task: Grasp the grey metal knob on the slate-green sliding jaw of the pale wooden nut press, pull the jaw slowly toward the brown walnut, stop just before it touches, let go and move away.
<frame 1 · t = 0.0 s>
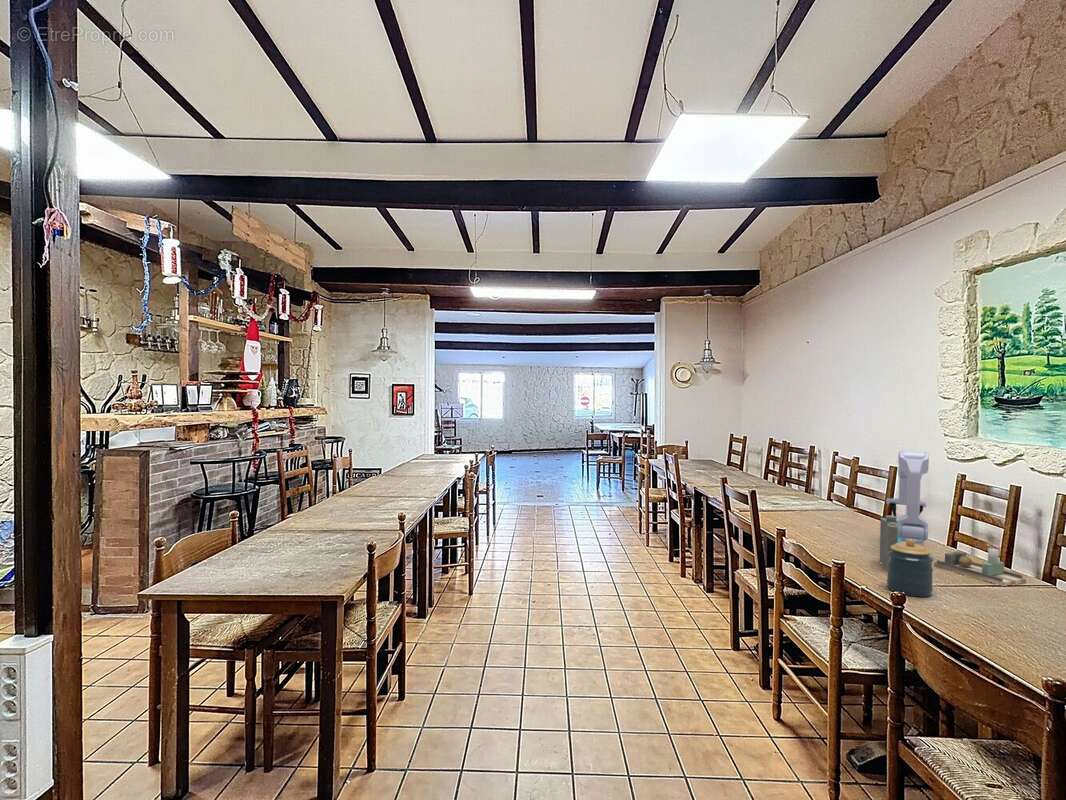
hand: (905, 520, 250), 11 cm above the table, tool pointing down, fingers open, 7 cm apart
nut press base: (977, 574, 209), on the table
hip flask: (889, 568, 216), on the table
donuts: (894, 544, 250), on the table
sliding jaw: (993, 561, 205), point 6 cm above the table, slide at 0.0 cm
walnut: (965, 561, 214), point 3 cm above the table, touching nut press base
canister: (909, 591, 191), on the table
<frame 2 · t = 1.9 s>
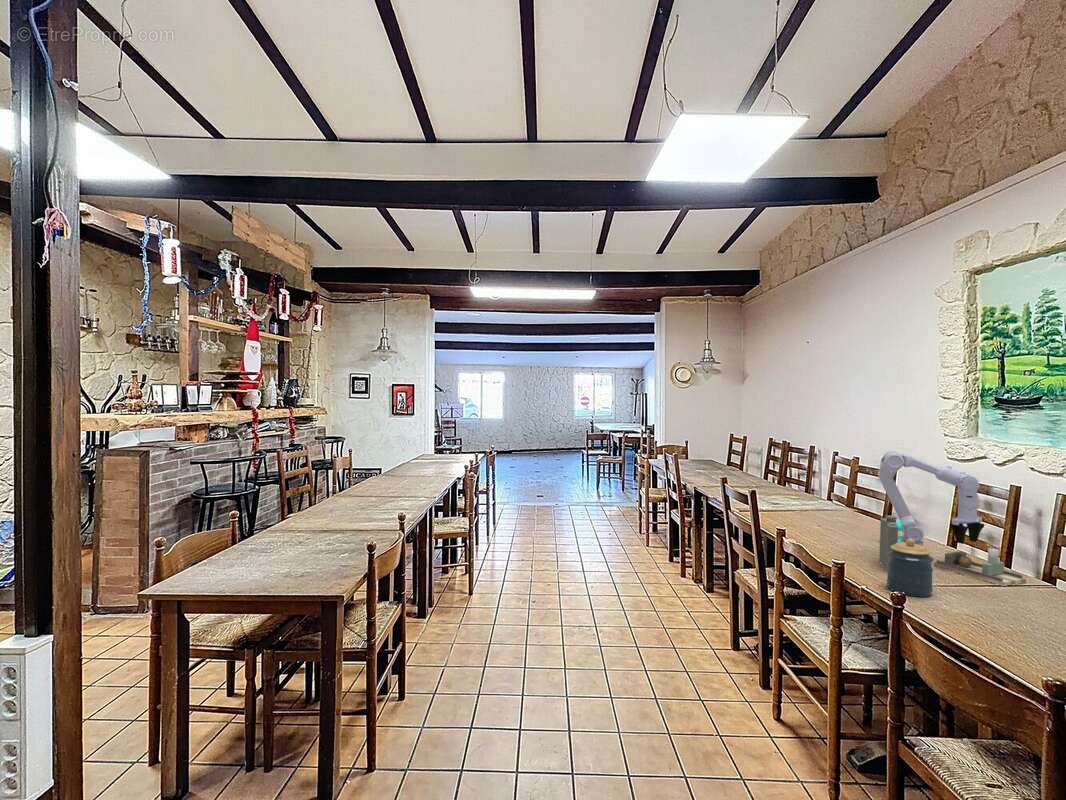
hand: (966, 542, 215), 10 cm above the table, tool pointing down, fingers open, 7 cm apart
nothing on the table moved.
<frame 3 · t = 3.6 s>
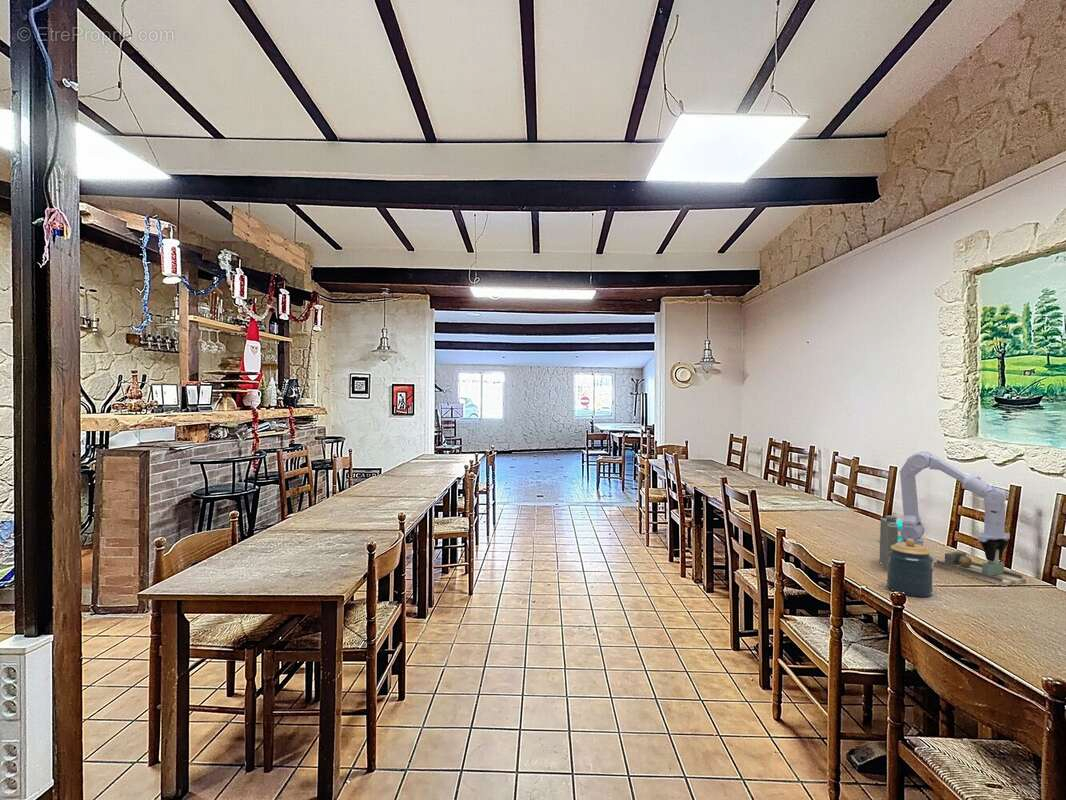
hand: (993, 559, 205), 7 cm above the table, tool pointing down, fingers closed on sliding jaw, 3 cm apart
sliding jaw: (993, 561, 205), point 6 cm above the table, slide at 0.0 cm, touching gripper
everything else where it was.
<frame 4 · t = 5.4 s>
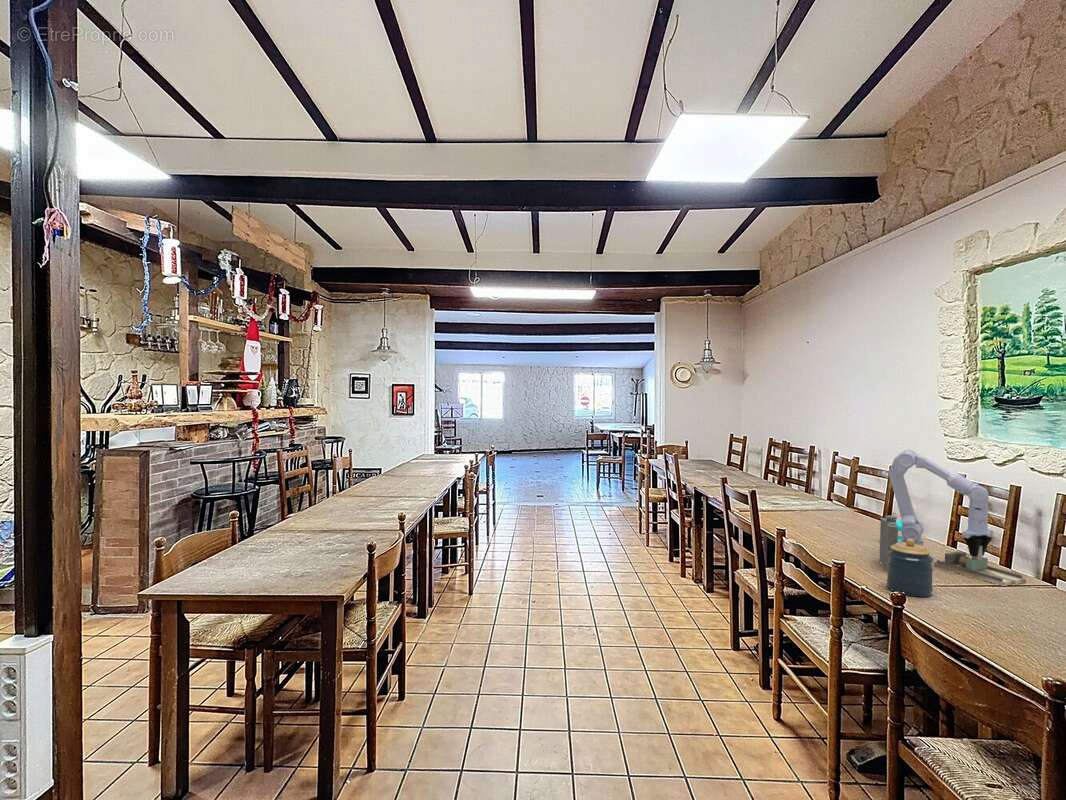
hand: (976, 555, 210), 7 cm above the table, tool pointing down, fingers closed on sliding jaw, 3 cm apart
sliding jaw: (977, 557, 210), point 6 cm above the table, slide at 5.4 cm, touching gripper
everything else where it was.
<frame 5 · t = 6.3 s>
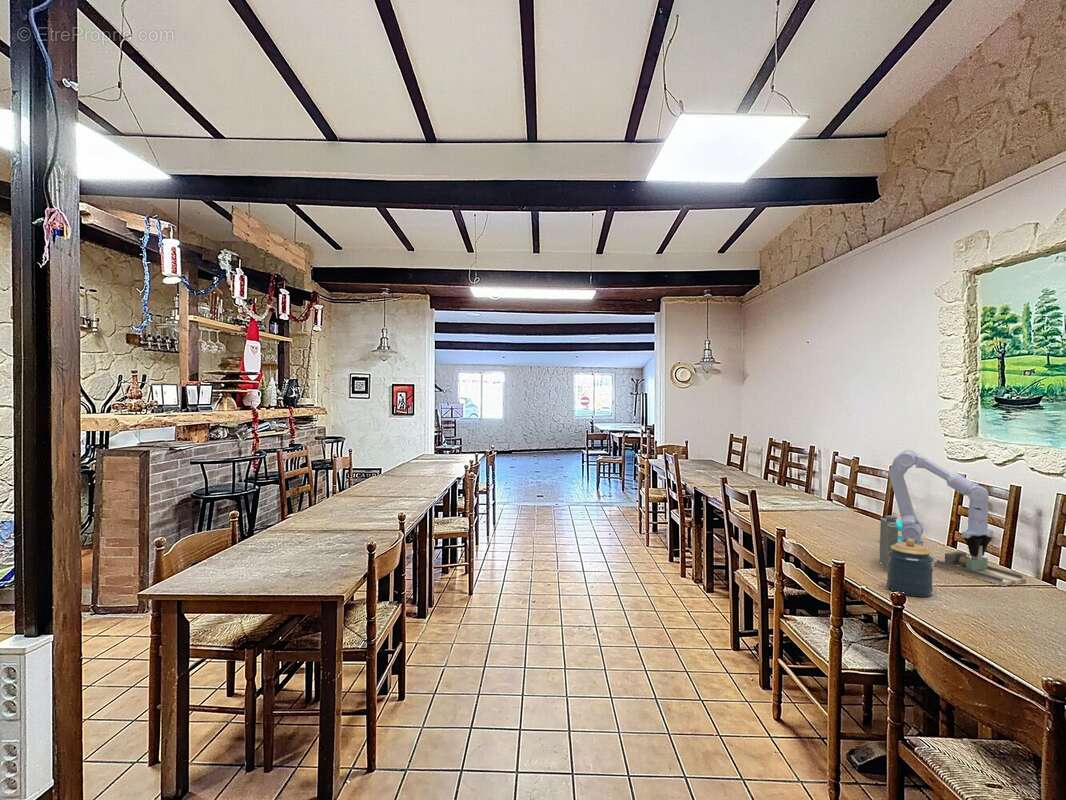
hand: (976, 555, 210), 7 cm above the table, tool pointing down, fingers closed on sliding jaw, 3 cm apart
sliding jaw: (977, 557, 210), point 6 cm above the table, slide at 5.4 cm, touching gripper
everything else where it was.
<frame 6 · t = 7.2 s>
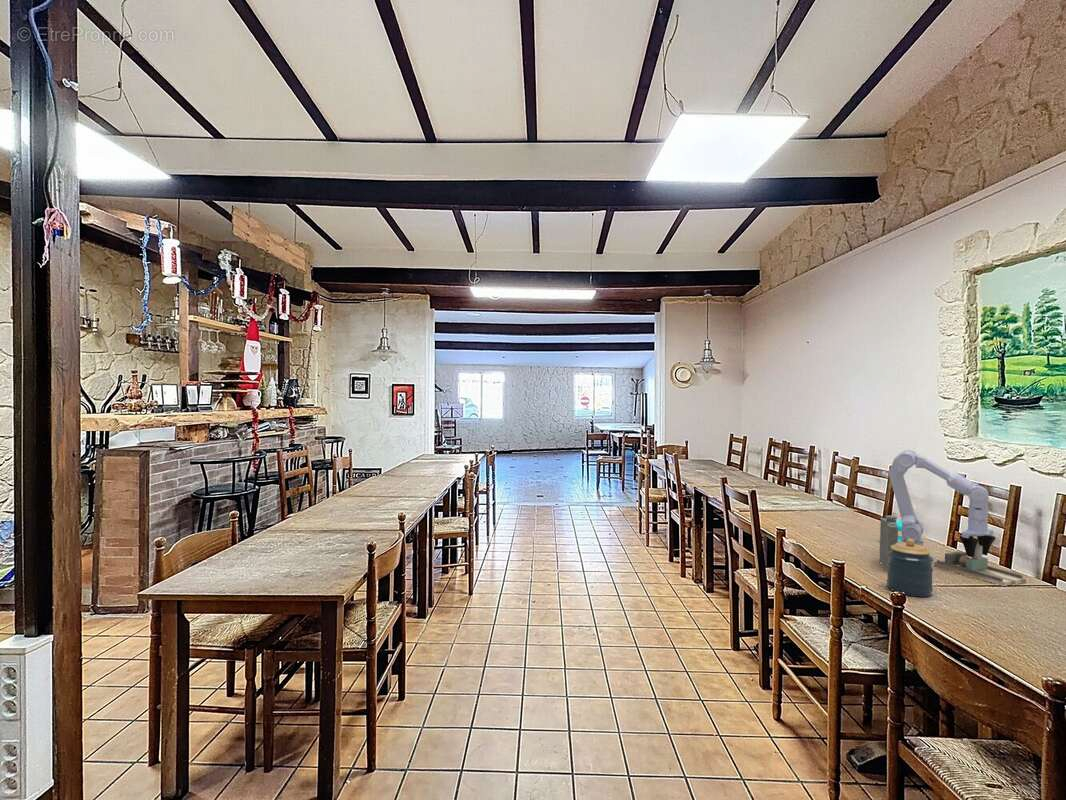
hand: (976, 555, 210), 7 cm above the table, tool pointing down, fingers open, 7 cm apart
sliding jaw: (977, 557, 210), point 6 cm above the table, slide at 5.4 cm
everything else where it was.
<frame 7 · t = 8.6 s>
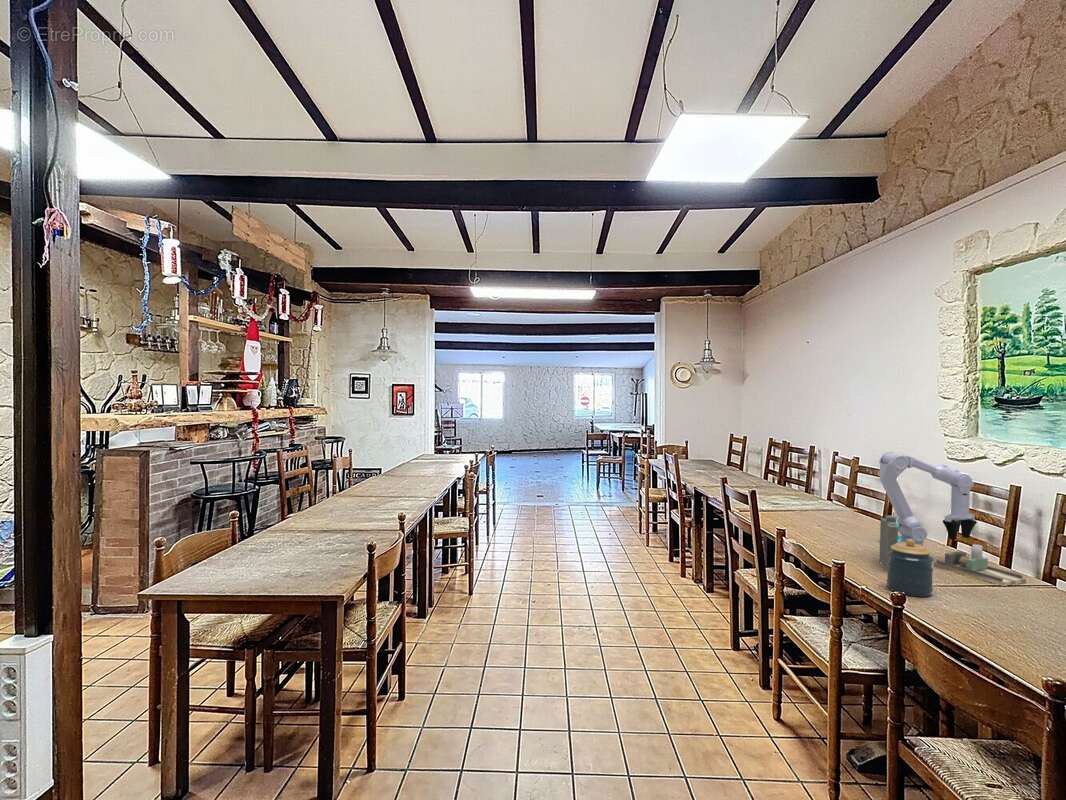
hand: (959, 538, 220), 10 cm above the table, tool pointing down, fingers open, 7 cm apart
nothing on the table moved.
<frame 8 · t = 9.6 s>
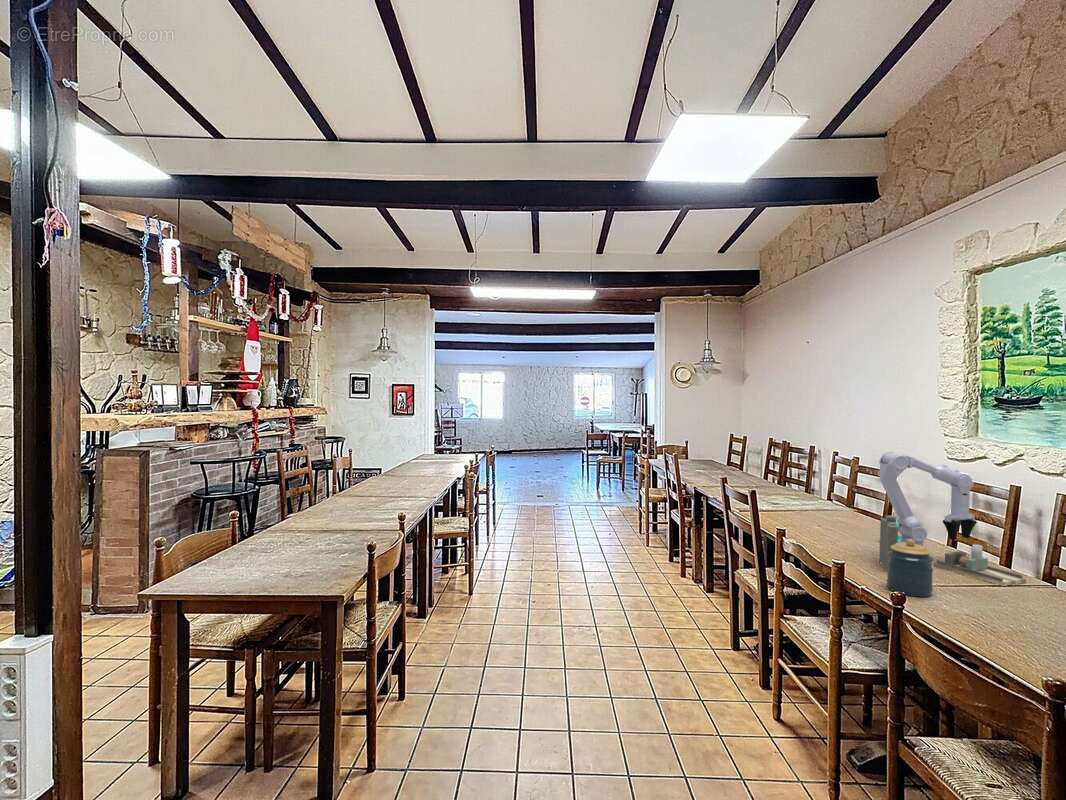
hand: (959, 538, 220), 10 cm above the table, tool pointing down, fingers open, 7 cm apart
nothing on the table moved.
at the end: sliding jaw slide at 5.4 cm; walnut moved 0.1 cm from its start; the gripper is holding nothing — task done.
